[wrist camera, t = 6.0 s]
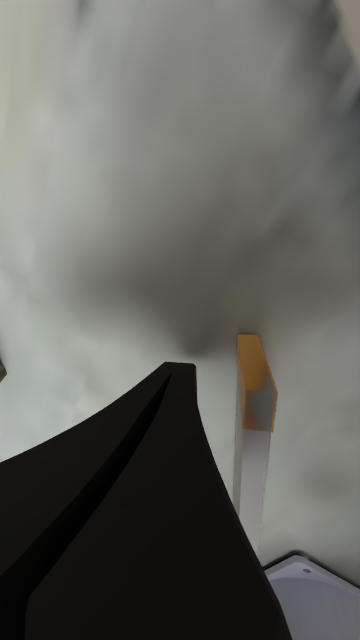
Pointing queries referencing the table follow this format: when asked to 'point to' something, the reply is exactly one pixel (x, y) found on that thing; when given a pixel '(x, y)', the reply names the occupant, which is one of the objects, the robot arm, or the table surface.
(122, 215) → the table surface
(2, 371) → the handheld radio
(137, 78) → the table surface
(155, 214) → the table surface
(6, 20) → the table surface
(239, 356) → the side door
